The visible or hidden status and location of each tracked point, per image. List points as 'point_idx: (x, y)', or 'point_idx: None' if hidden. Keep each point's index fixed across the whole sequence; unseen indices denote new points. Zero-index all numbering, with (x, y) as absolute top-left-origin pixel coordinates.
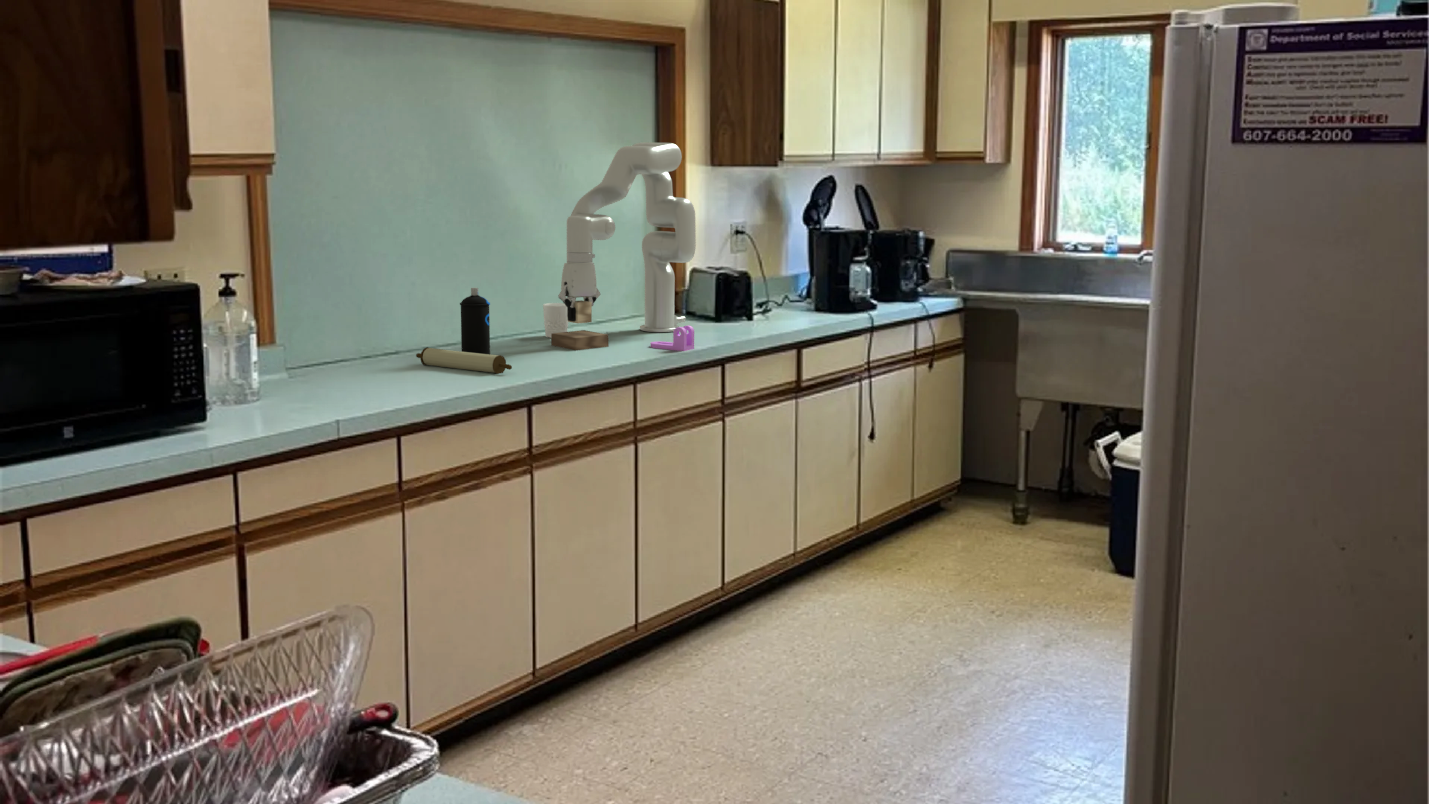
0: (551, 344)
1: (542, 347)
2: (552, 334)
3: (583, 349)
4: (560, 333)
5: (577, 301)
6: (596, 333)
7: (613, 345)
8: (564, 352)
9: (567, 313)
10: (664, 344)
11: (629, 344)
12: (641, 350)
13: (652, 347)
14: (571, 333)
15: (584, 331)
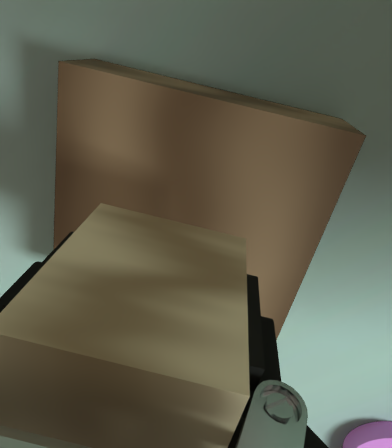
0: (92, 59)
1: (5, 74)
2: (60, 76)
3: None
4: (106, 119)
5: (97, 418)
6: (263, 293)
7: (311, 310)
8: (4, 261)
9: (17, 280)
10: None
11: (383, 345)
12: None
13: (346, 436)
14: (160, 179)
15: (298, 186)
